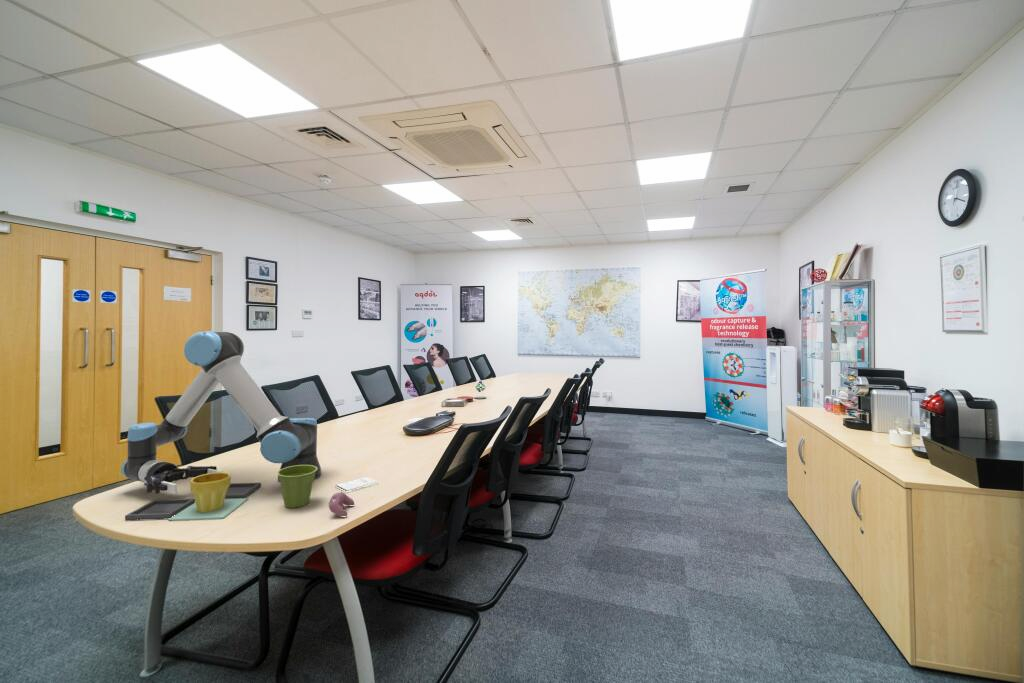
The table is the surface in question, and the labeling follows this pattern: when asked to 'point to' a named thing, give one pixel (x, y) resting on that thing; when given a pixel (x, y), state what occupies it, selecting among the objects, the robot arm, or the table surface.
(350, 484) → the white flat block
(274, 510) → the table surface
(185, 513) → the pad
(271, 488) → the table surface
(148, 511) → the tray
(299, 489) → the plant pot
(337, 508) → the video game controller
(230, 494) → the tray
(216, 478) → the plant pot
